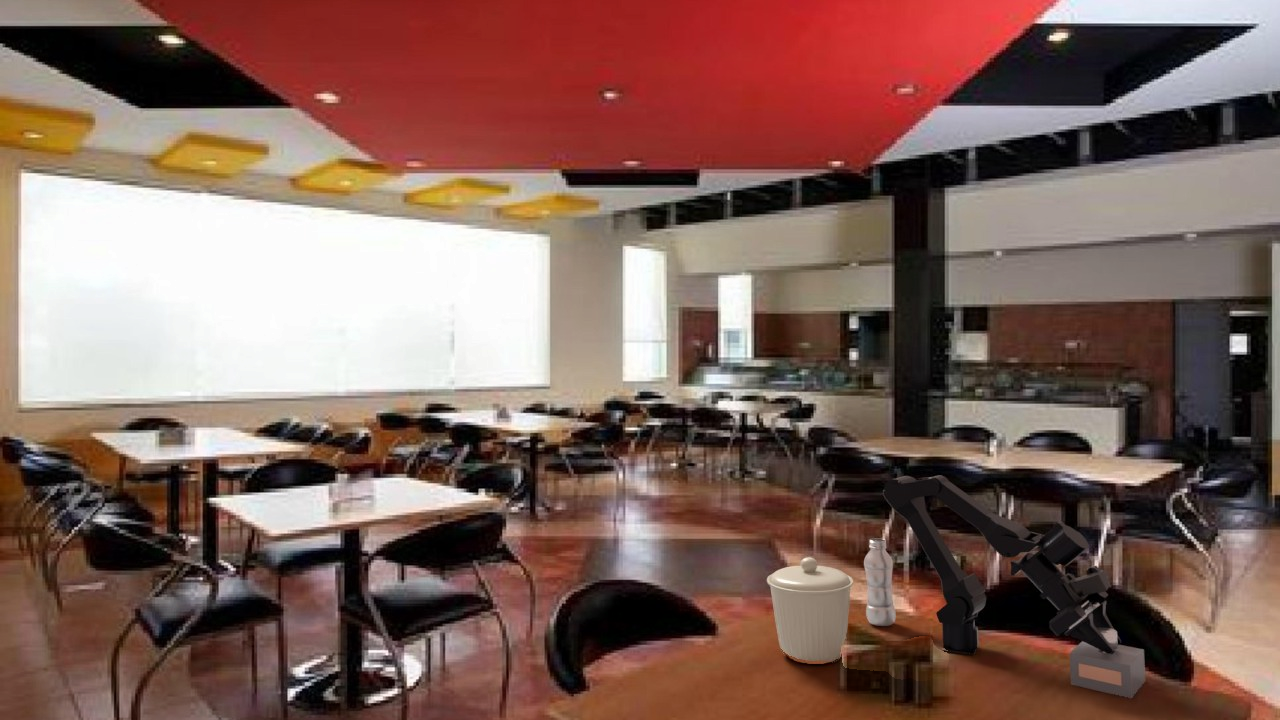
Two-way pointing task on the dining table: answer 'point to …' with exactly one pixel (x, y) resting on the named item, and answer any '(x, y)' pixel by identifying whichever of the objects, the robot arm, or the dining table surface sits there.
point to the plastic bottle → (879, 584)
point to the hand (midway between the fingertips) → (1115, 647)
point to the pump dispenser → (1108, 669)
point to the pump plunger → (1109, 637)
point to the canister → (811, 610)
